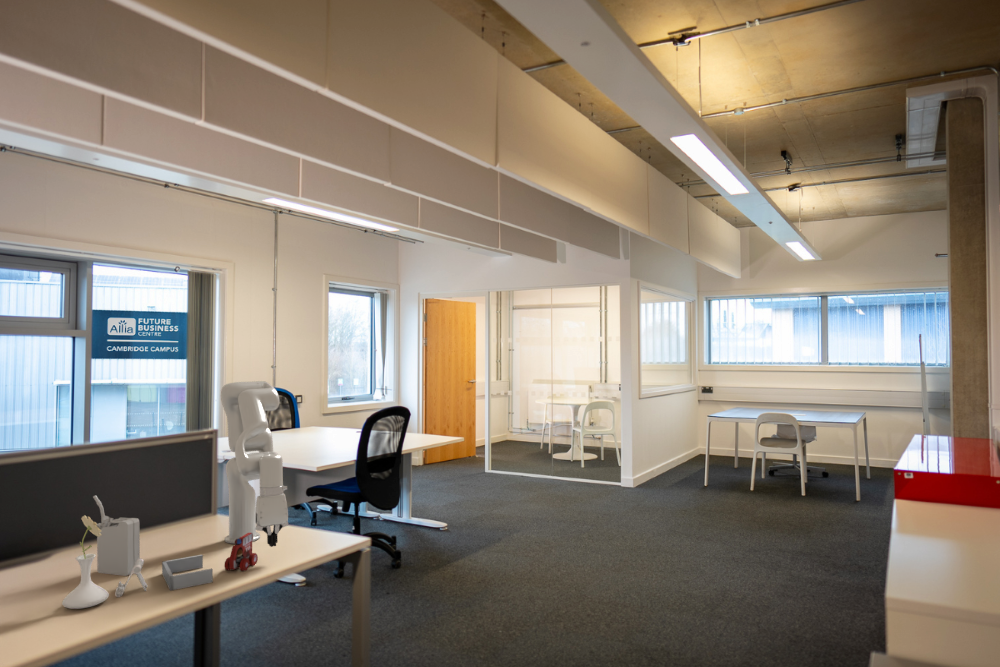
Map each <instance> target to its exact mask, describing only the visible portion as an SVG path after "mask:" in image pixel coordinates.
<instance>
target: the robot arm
mask: <svg viewBox="0 0 1000 667" xmlns="http://www.w3.org/2000/svg"><path fill="white" fill-rule="evenodd" d="M220 401H221V405H222V408H223V410H224V413H225V416H226V421H227V422H226V423H227V438H228V440H227V441H228V446H229V450H230V451H231V452H233V453H234V455H235V457H232V458H230V459H229V460H227V462H226V464H225V473H226V479H227V485H228V535H227V536H225V537H224V542H225V543H227V544H233V545H235V540H236V539H239V538H240V537H242V536H244V535H245V534H247V533H253V540H252V542H254V541H257V540H259V539H260V538H261V533H260V532H264V533H265V534H266V537H267V538H266V542H267V544H268V546H269V547H270V548H272V547H276V546H277V543H278V534H279V532H280V531H281V529H283V528H285V527H287V526H289V522H288V521H289V510H288V502H287V498H286V494H285V493H284V492H285V491H287V490H288V485H284V481H283V479H284V478H283V477H284V475H283V474H284V472H283V469H284V468H283V467H284V466H283V457H282V455H281V454H278V453H277V452H276V451H274V442H273V434H272V432H271V429H270V428H269V422H268V418H267V414H266V411H267V412H268V411H276V410H277V409H279V406H280V395H279V393H278V391H277V389H276V388H275V387H274V386H273V385H271V384H270V383H269V382H267V381H262V380H261V381H260V380H258V381H255V380H254V381H235V382H229V383H226V384H224V385H223V386H222V387H221V390H220ZM250 452H252V453H250ZM255 480H259V495H258V496H257V497H256V490H255V488H254V487H253V486H252V485H251V484H250V483H249V482H250V481H255ZM271 526H273V528H272V527H271ZM272 529H273V530H272ZM258 531H260V532H258Z"/></svg>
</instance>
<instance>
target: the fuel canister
mask: <svg viewBox="0 0 1000 667" xmlns="http://www.w3.org/2000/svg"><path fill="white" fill-rule="evenodd" d="M92 498H93V499H94V501H95V503H96V505H97V506H98V507H99V512H100V516H101V517H100V518H101V519H100V520H101V522H99V523H97V525H96V526H97V527H98V528H99V529H100V530H101V532H100V533H101V534H102V536H100V537H98V536H96V537H97V538H96V540H97V541H96V544H97V545H96V547H97V550H96V551H97V552H96V553H97V554H96V556H97V557H96V558H97V560H96V562H97V564H96V565H97V573H99V574H108V575H115V576H117V575H118V576H125V577H127V576H130V573H131V571H132V569H133V567H134V565H135V562H136V561H137V559H139V558H141V554H140V553H141V552H140V550H141V549H140V548H141V547H140V545H141V544H140V543H141V542H140V540H141V538H140V536H141V535H140V519H139V518H137V517H118V518H115V519H114V518H113V517H110V516H108V515H105V510H104V506H103V503H102V501H101V500H100V499H99V497H98V496H97V495H93V496H92Z"/></svg>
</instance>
